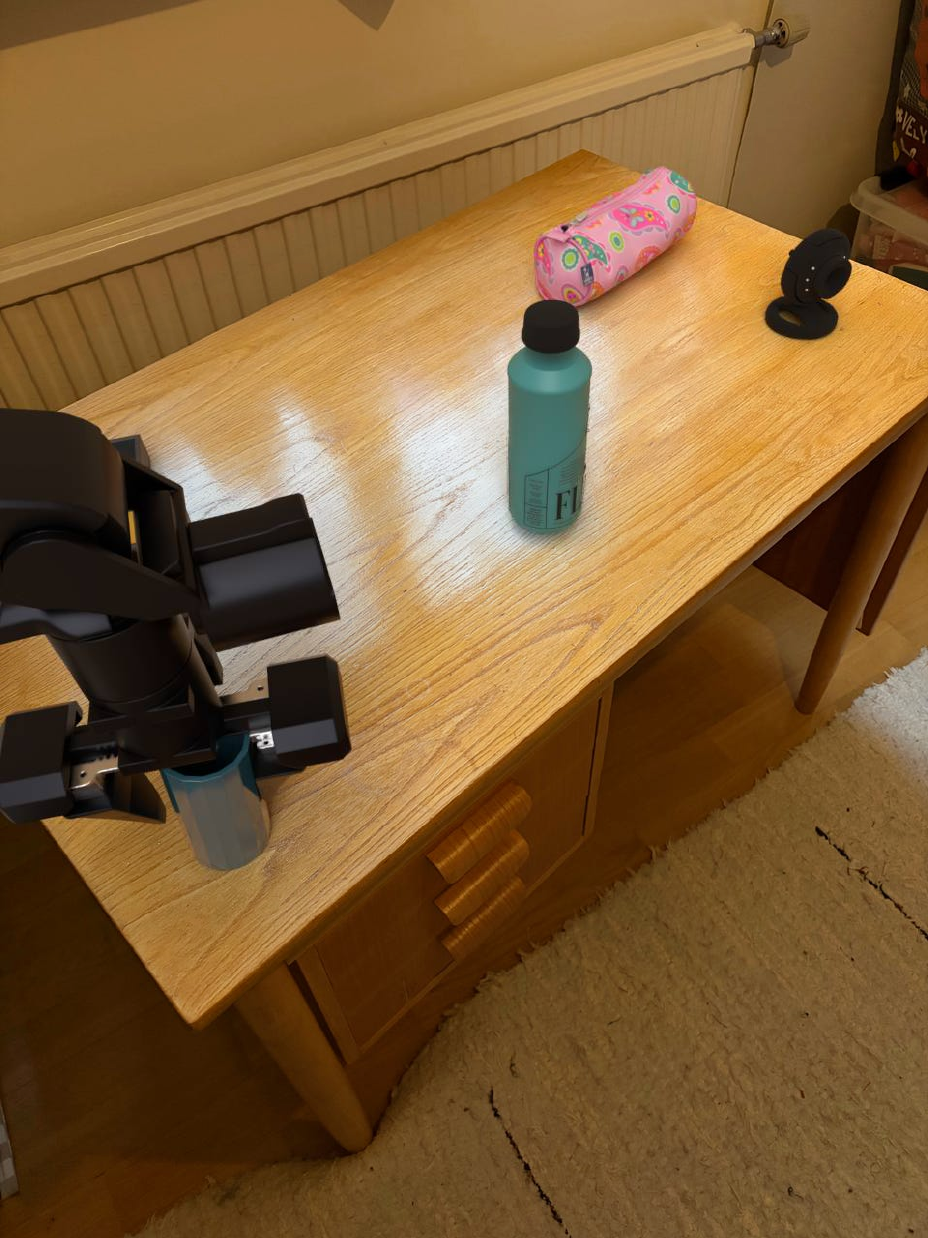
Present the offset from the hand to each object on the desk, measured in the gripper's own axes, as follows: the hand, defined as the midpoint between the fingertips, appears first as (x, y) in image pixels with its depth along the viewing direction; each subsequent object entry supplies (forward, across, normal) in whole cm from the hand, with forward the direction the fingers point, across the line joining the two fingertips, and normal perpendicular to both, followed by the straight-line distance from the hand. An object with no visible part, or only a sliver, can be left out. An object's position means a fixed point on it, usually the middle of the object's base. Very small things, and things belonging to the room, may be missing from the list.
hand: (217, 806), depth 55 cm
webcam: (+5, -62, -47) cm, 78 cm away
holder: (+4, +10, -33) cm, 35 cm away
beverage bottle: (+4, -28, -24) cm, 37 cm away
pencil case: (+5, -46, -62) cm, 78 cm away
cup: (+4, 0, 0) cm, 4 cm away
